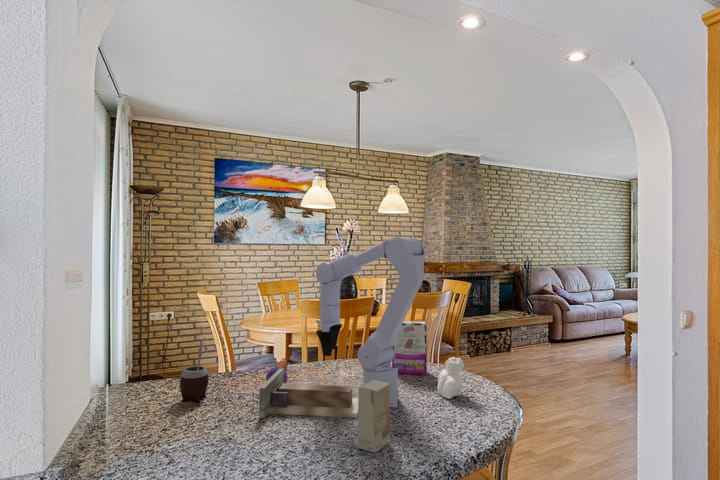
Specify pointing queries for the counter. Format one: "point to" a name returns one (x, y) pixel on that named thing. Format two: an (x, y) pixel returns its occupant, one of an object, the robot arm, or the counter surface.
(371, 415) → the skincare box
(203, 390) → the mate gourd
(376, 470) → the counter surface
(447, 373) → the bust
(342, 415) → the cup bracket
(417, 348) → the candy bar box
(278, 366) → the kendama
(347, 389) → the rail
